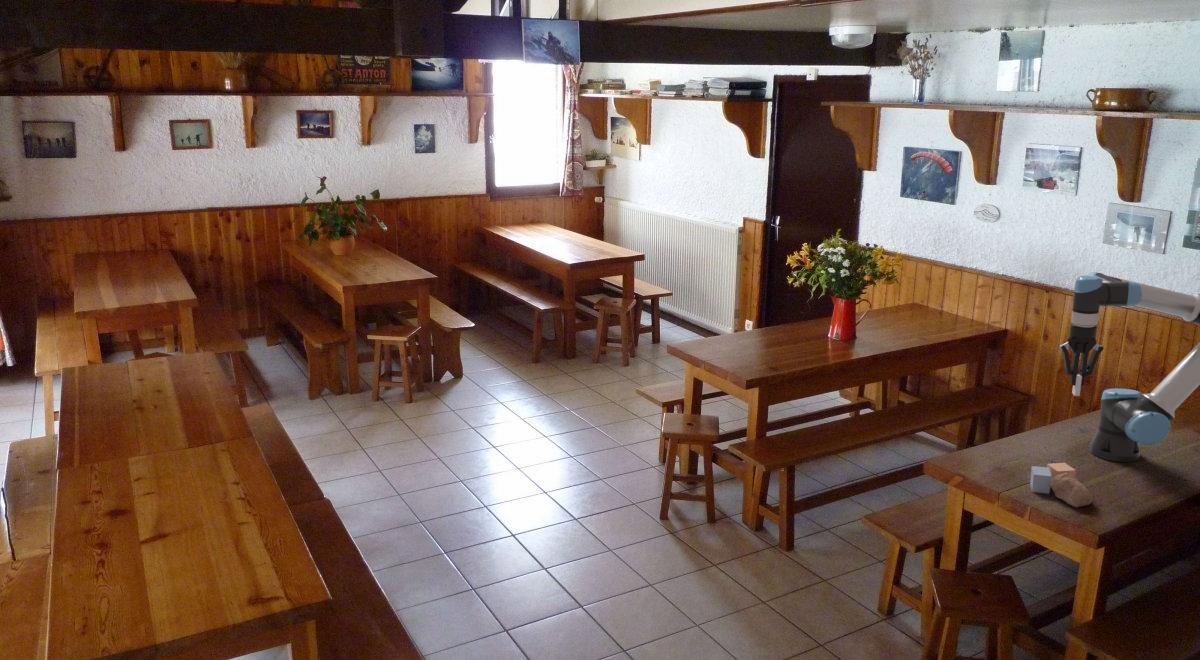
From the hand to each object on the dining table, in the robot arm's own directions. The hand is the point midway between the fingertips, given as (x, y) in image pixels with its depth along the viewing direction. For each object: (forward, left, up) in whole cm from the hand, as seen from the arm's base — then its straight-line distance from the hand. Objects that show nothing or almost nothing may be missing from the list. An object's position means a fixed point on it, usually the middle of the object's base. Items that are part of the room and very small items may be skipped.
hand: (1075, 394), depth 301 cm
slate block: (+13, +16, -27) cm, 34 cm away
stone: (+5, +24, -27) cm, 36 cm away
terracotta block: (+6, +12, -27) cm, 30 cm away
